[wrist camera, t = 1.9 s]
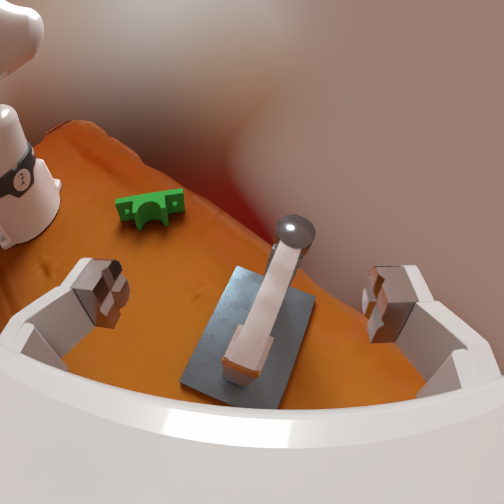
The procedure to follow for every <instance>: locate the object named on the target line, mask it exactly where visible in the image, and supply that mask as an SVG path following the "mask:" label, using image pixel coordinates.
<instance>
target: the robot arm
mask: <svg viewBox="0 0 504 504" xmlns="http://www.w3.org/2000/svg"><path fill="white" fill-rule="evenodd" d="M43 36H44V25H43V21H42V18H41V16H40V15H39V14H38V13H37V12H36V11H35V10H33V9H31V8H28V7H21V6H16V5H13V4H11V3H9V2H7V1H5V0H0V81H1V80H3V79H4V78H6V77H8V76H10V75H11V74H13V73H14V72H15V71H17V70H18V69H19V68H21V67H22V66H23V65H25V64H26V63H28V62H29V61H30V60H32V59H33V58H34V57H35V56H36V54H37V52H38V51H39V49H40V47H41V44H42V41H43ZM61 185H62V183H61V182H60V180H58V179H53V178H52V176H51V174H50V172H49V170H48V168H47V166H46V164H45V162H44V161H43V160H42V159H41V160H40V159H36V157H35V154H34V151H33V148H32V147H31V145H30V143H29V142H28V141H26V139H25V136H24V133H23V130H22V127H21V125H20V122H19V119H18V116H17V113H16V111H15V110H14V109H13V108H12V107H10V106H8V105H4V104H0V245H1V247H2V248H3V250H7V249H9V248H10V247H12V246H13V245H15V244H18V243H23V242H26V241H29V240H31V239H33V238H34V237H36V236H37V235H39V234H40V233H41V232H42V231H43V230H44V229H45V228H46V227H47V226H48V225H49V224H50V223H51V221H52V220H53V219H54V217H55V215H56V213H57V211H58V209H59V205H60V196H59V191H60V189H61ZM122 270H123V269H122V266H121V264H120V262H119V261H117V260H114V259H100V258H82V259H80V260H79V261H78V263H77V264H76V265H75V267H74V268H73V269H72V271H71V272H70V273H69V275H68V276H67V277H66V279H65V280H64V281H63V283H62V284H61V285H60V287H55V288H54V289H52V290H51V291H49V292H48V293H46V294H45V295H43V296H42V297H40V298H38V299H37V300H35V301H34V302H33V303H31V304H30V305H28V306H27V307H25V308H24V309H22V310H21V311H19V312H18V313H16V314H15V315H14V316H12V317H11V319H10V320H9V322H8V324H7V325H6V327H5V328H4V330H3V332H2V333H1V335H0V504H504V375H503V376H501V374H500V371H499V368H498V366H497V363H496V360H495V358H494V355H493V353H492V350H491V348H490V346H489V343H488V342H487V341H486V340H485V339H483V338H482V337H481V336H480V335H479V334H478V333H477V332H475V331H474V330H473V329H471V327H469V326H468V325H467V324H466V323H465V322H463V321H462V320H461V319H460V318H459V317H457V316H456V315H455V314H454V313H452V312H451V311H450V310H449V309H447V308H446V307H445V306H444V305H442V304H441V303H440V302H439V301H434V299H433V297H432V295H431V293H430V291H429V289H428V287H427V285H426V283H425V281H424V279H423V277H422V275H421V273H420V271H419V269H418V268H417V267H416V266H415V265H402V266H372V267H371V269H370V271H369V274H368V277H369V281H370V283H368V284H367V285H366V286H365V288H364V292H363V299H362V306H363V312H364V316H365V317H366V318H368V319H369V322H368V324H367V330H368V334H369V338H370V343H391V342H395V345H396V346H397V347H398V348H399V349H400V350H401V352H402V353H403V354H404V355H405V356H406V358H407V359H408V360H409V361H410V362H411V364H412V365H413V366H414V367H415V368H416V370H417V371H418V372H419V373H420V375H421V376H422V377H423V378H424V379H425V381H426V382H427V383H426V384H425V385H424V386H423V387H422V389H421V390H420V391H419V392H418V393H417V395H416V399H413V400H407V401H401V402H395V403H388V404H380V405H372V406H363V407H351V408H337V409H315V410H276V409H253V408H239V407H227V406H217V405H209V404H201V403H194V402H187V401H181V400H175V399H169V398H164V397H158V396H153V395H149V394H144V393H139V392H135V391H131V390H127V389H123V388H119V387H115V386H111V385H108V384H104V383H100V382H97V381H94V380H90V379H87V378H84V377H81V376H78V375H75V374H72V373H69V372H68V370H69V369H68V366H67V365H66V364H65V363H64V362H63V361H62V358H63V357H64V356H65V355H66V354H67V353H68V352H69V351H70V350H71V349H72V348H73V347H74V346H75V345H76V344H78V343H79V342H80V341H81V340H82V339H83V338H84V337H85V336H86V335H87V334H88V333H89V332H91V331H92V330H93V329H94V328H95V326H97V327H103V328H110V329H114V328H115V325H116V323H117V321H118V319H119V317H120V315H121V313H120V309H121V308H122V307H124V306H125V305H126V303H127V301H128V299H129V293H130V289H129V284H128V281H127V279H126V278H125V277H124V276H123V275H122V274H121V273H122Z"/></svg>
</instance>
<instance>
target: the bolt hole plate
mask: <svg viewBox="0 0 504 504" xmlns="http://www.w3.org/2000/svg"><path fill="white" fill-rule="evenodd" d="M263 277H264V276H262V275H259V274H257V273H254V272H252V271H249V270H247V269H244V268H242V267H239V266H237V267H236V269H235V271H234V273H233V275H232V277H231V279H230V281H229V283H228V285H227V287H226V289H225V290H224V292H223V294H222V296H221V298H220V300H219V302H218V304H217V306H216V308H215V310H214V312H213V314H212V316H211V318H210V320H209V322H208V324H207V326H206V328H205V330H204V332H203V334H202V336H201V338H200V340H199V342H198V344H197V346H196V348H195V350H194V352H193V354H192V356H191V358H190V360H189V363H188V365H187V367H186V369H185V371H184V373H183V375H182V377H181V379H180V381H179V382H180V383H182V384H184V385H186V386H188V387H190V388H192V389H194V390H197V391H199V392H201V393H203V394H206V395H208V396H210V397H212V398H215V399H217V400H219V401H222V402H224V403H227V404H229V405H232V406H234V407H239V408H253V409H276V410H277V408H278V406H279V403H280V401H281V398H282V396H283V393H284V390H285V388H286V385H287V382H288V379H289V377H290V374H291V371H292V368H293V366H294V363H295V360H296V357H297V354H298V351H299V348H300V345H301V342H302V339H303V336H304V333H305V330H306V327H307V324H308V321H309V318H310V314H311V311H312V308H313V305H314V301H315V298H316V296H313V295H310V294H308V293H305V292H303V291H300V290H297V289H295V288H292V287H290V286H289V288H288V290H287V292H286V294H285V296H284V299H283V301H282V304H281V307H280V309H279V312H278V315H277V317H276V320H275V322H274V325H273V328H272V330H271V333H270V335H269V336H271V337H274V339H273V343H272V345H271V348H270V350H269V353H268V356H267V358H266V361H265V363H264V366H263V368H262V371H261V373H260V375H259V376H258V377H257V378H255V379H254V380H253V381H252V382H251V383H250V384H249V385H248V386H247V387H246V388H245V387H243V386H240V385H238V384H235V383H233V382H230V381H228V380H226V379H223V378H222V372H223V365H222V359H223V356H224V354H225V352H226V350H227V348H228V346H229V343H230V341H231V339H232V337H233V335H234V332H235V330H236V328H237V326H238V325H239V324H241V325H243V326H244V324H245V321H246V319H247V317H248V314H249V312H250V310H251V308H252V305H253V303H254V301H255V298H256V296H257V294H258V292H259V289H260V287H261V283H262V280H263Z"/></svg>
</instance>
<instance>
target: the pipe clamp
mask: <svg viewBox="0 0 504 504" xmlns="http://www.w3.org/2000/svg"><path fill="white" fill-rule="evenodd" d="M115 205H116V208H117V211H118V213H119V216H120V219H121V221H127V220H133V219H134V220H135V223H136V226H137V229H138V231H139V230H142V228H143V226H144V224H145V223H146V222H148V221H150V220H153V219H157V220H160V221H162V222H163V224H164V226H169V223H168V214H170V213H177V212H184V211H185V207H184V196H183V188H181V189H173V190H167V191H160V192H154V193H147V194H141V195H135V196H130V197H124V198H119V199H116V201H115Z"/></svg>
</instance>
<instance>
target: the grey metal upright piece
mask: <svg viewBox="0 0 504 504" xmlns="http://www.w3.org/2000/svg"><path fill="white" fill-rule="evenodd" d="M314 238H315V228H314V226H313V224H312V223H311V222H310V221H309V220H308V219H306V218H304V217H302V216H299V215H286V216H284V217H282V218H281V219H280V220H279V222H278V224H277V228H276V231H275V234H274V238H273V243H274V245H273V248H272V251H271V254H270V257H269V260H268V264H267V267H266V270H265V274H264V277H263V280H262V283H261V287H260V289H259V292H258V294H257V296H256V298H255V301H254V303H253V305H252V308H251V310H250V312H249V314H248V317H247V319H246V321H245V324H244V326H243V328H242V330H241V333H240V335H239V337H238V339H237V342H236V344H235V346H234V348H233V351H232V353H231V355H230V357H229V359H228V365H231V366H233V367H236V368H238V369H241V370H243V371H245V372H248V373H251V374H253V373H254V372H255V370H256V368H257V365H258V363H259V360H260V358H261V355H262V353H263V350H264V348H265V345H266V343H267V340H268V338H269V335H270V333H271V330H272V328H273V325H274V322H275V320H276V317H277V315H278V312H279V309H280V307H281V304H282V301H283V299H284V296H285V294H286V292H287V290H288V288H289V286H290V284H291V282H292V280H293V278H294V276H295V274H296V272H297V270H298V268H299V265H300V263H301V261H302V259H303V256H304V255H305V254H306V253H307V252H308V251H309V248H310V246H311V244H312V242H313V240H314Z"/></svg>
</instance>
